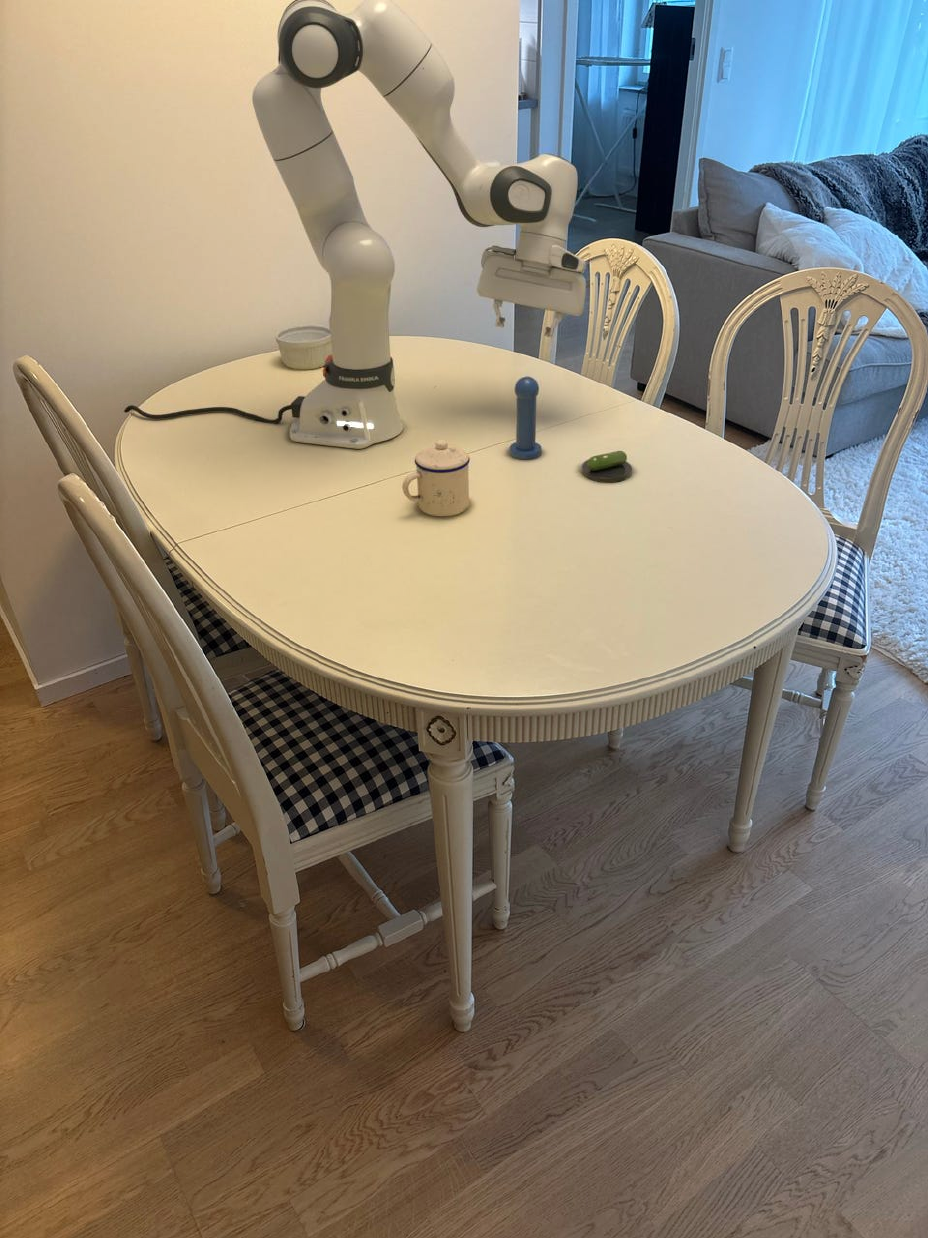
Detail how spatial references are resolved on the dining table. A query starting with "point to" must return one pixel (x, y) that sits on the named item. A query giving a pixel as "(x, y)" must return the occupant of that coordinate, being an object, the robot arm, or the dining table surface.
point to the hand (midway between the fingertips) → (523, 331)
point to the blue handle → (526, 420)
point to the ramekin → (304, 346)
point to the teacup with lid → (441, 480)
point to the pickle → (607, 467)
